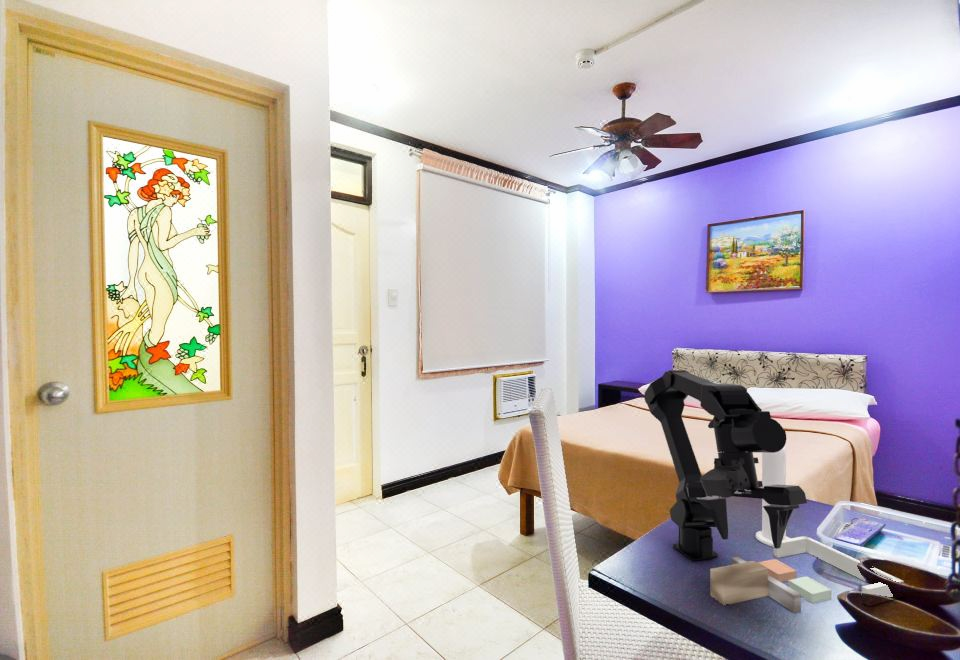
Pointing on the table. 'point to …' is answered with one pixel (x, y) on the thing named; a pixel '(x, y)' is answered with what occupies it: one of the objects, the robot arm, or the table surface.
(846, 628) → the table surface
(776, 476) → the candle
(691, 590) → the table surface
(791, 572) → the tile terracotta
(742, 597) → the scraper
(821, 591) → the tile sage
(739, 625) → the table surface
